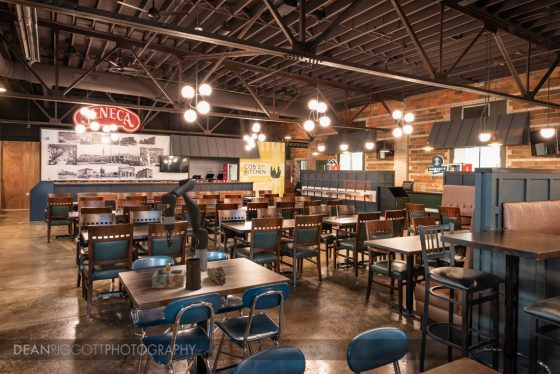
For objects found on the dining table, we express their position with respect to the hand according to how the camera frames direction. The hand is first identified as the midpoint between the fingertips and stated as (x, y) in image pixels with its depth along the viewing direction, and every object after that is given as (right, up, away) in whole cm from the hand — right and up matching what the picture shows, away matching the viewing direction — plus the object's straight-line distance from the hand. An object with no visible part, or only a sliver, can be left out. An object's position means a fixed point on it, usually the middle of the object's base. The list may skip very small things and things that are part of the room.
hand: (170, 246), depth 257 cm
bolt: (-4, -18, -2) cm, 19 cm away
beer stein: (+19, -27, -12) cm, 35 cm away
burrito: (+31, -27, +9) cm, 42 cm away
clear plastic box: (0, -27, -1) cm, 27 cm away
